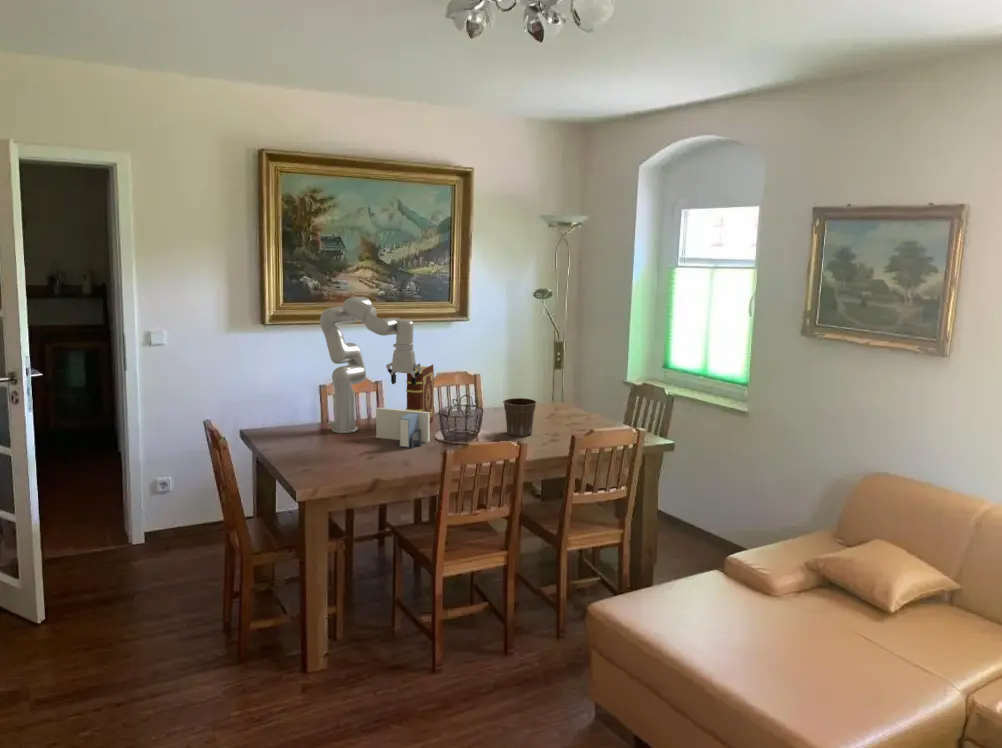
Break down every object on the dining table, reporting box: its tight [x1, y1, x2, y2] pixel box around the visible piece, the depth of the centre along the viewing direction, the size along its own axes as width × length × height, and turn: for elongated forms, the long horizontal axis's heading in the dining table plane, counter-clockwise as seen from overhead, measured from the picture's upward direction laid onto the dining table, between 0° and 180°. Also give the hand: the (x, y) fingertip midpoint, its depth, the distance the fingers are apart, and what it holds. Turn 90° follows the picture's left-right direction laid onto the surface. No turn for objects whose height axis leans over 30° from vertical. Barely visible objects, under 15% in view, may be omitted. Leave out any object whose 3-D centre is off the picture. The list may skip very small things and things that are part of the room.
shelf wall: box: [375, 407, 431, 444], centre depth 359 cm, size 26×3×14 cm, turn 74°
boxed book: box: [399, 413, 418, 448], centre depth 350 cm, size 4×11×13 cm, turn 164°
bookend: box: [397, 429, 423, 449], centre depth 351 cm, size 10×10×6 cm
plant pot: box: [502, 397, 538, 437], centre depth 375 cm, size 16×16×16 cm
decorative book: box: [405, 363, 435, 424], centre depth 385 cm, size 22×8×30 cm, turn 168°
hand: (403, 384), depth 350 cm, fingers open, 9 cm apart
